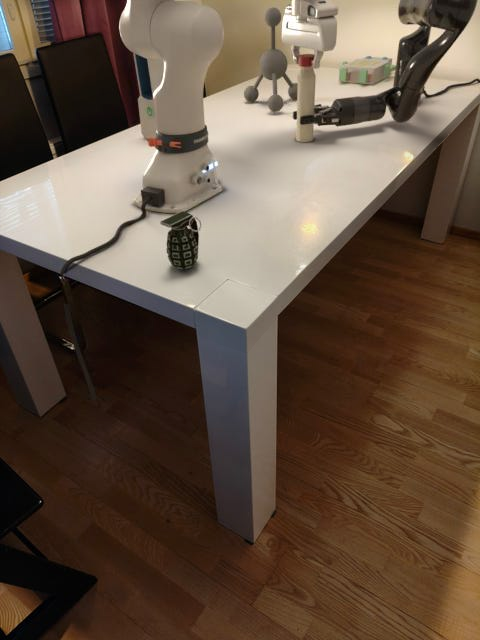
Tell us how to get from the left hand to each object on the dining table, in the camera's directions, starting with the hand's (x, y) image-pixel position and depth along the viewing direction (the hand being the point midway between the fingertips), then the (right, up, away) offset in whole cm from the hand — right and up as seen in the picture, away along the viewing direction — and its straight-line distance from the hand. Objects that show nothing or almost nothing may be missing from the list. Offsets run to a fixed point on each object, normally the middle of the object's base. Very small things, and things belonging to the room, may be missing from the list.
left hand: (306, 65), depth 134 cm
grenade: (-28, -60, -42) cm, 79 cm away
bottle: (+1, -16, +12) cm, 20 cm away
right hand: (-2, -11, +8) cm, 14 cm away
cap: (0, +2, -2) cm, 2 cm away
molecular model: (-4, +9, +45) cm, 46 cm away
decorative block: (+34, +31, +69) cm, 83 cm away
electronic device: (-42, -13, +19) cm, 48 cm away
